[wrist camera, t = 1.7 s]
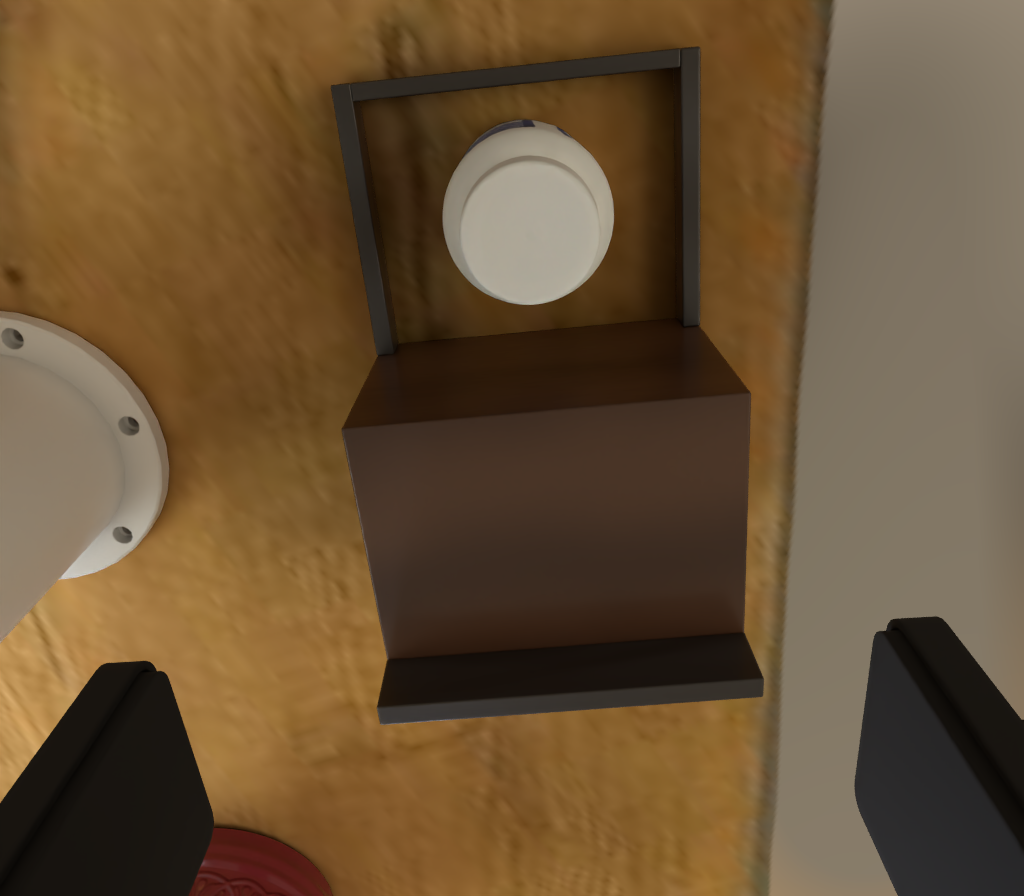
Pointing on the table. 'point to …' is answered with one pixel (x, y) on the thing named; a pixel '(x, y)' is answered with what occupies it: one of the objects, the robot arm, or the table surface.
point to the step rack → (552, 478)
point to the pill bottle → (527, 213)
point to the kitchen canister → (255, 868)
